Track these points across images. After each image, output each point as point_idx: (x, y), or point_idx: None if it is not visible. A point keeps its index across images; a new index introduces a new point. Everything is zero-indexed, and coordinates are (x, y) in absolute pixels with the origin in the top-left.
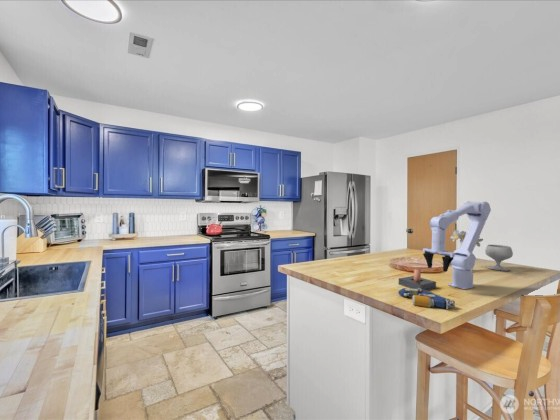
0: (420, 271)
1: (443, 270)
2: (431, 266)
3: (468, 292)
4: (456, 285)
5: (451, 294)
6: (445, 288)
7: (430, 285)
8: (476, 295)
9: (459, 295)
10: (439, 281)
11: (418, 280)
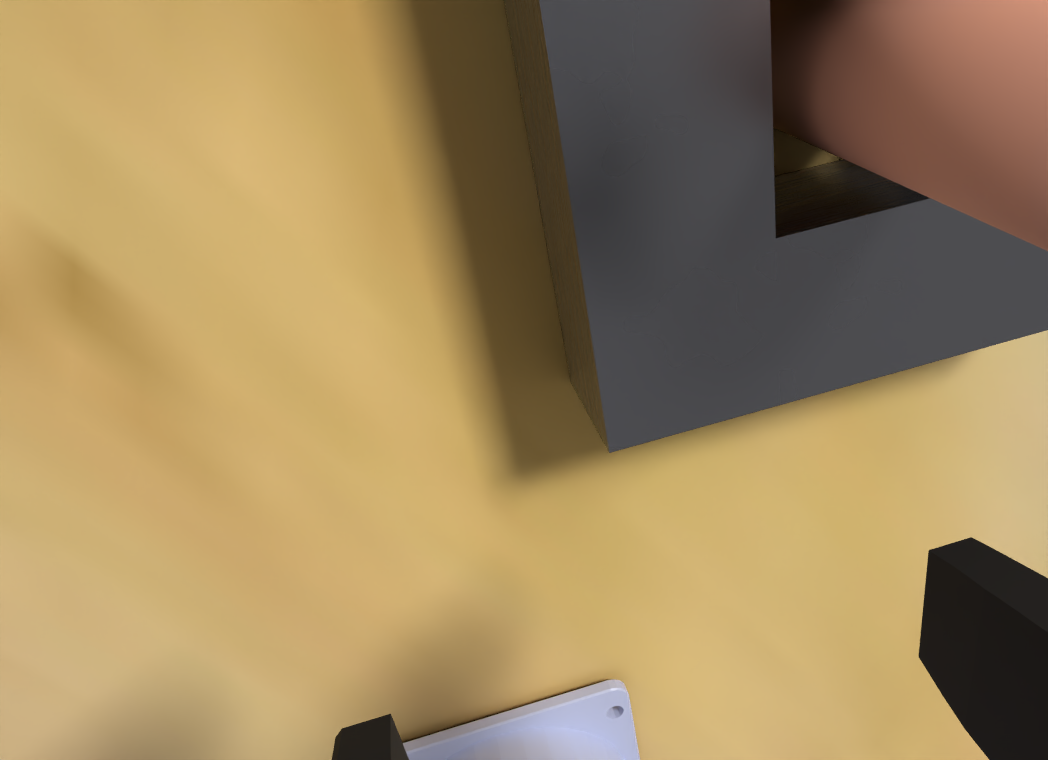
0: (1008, 190)
1: (381, 742)
2: (950, 684)
3: (221, 728)
4: (497, 745)
5: (128, 379)
6: (496, 530)
7: (561, 230)
8: (49, 744)
9: (54, 485)
10: (813, 676)
11: (835, 53)
